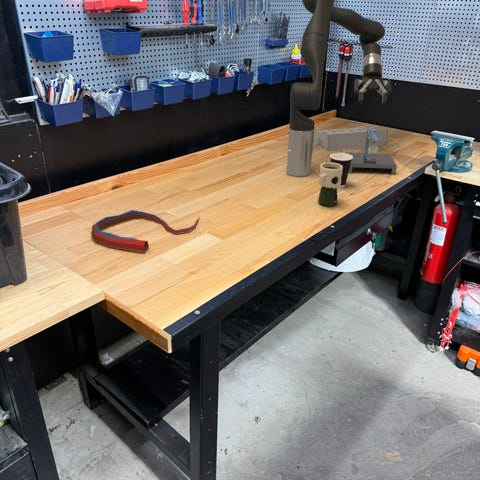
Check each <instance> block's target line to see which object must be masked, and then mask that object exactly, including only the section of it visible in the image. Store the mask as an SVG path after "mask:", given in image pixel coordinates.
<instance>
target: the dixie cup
mask: <svg viewBox="0 0 480 480" xmlns="http://www.w3.org/2000/svg"><path fill="white" fill-rule="evenodd" d="M329 157H330V163H338V164H340V165H342V166H343V170H342V176H341V185H340V186H339V187H337V189H344V187H345V186H346V185H347V182H348V175H349V174H350V173H349V169H350V165H351V160H352V159H353V156H352V155H349V154H346V153H345V152H334V153H331V154H330V155H329Z"/></svg>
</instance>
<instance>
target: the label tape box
mask: <svg viewBox="0 0 480 480" xmlns="http://www.w3.org/2000/svg"><path fill="white" fill-rule="evenodd" d="M367 127H368V128H367V134H366V143H365V147H364V152H363V153H364V155H365V158H366V160H367V161H370V162H376V161H377V153H378V149H379V146H378V144H379V140H378V138H377V137H376V135H375V134H373V133H371V129H370V127H371V126H370V124H368V125H367ZM368 130H369V131H368Z"/></svg>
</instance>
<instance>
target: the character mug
mask: <svg viewBox="0 0 480 480" xmlns="http://www.w3.org/2000/svg"><path fill="white" fill-rule="evenodd" d="M342 170H343V166H342V165H340V164H338V163H331V161H329V162H322V163H321V164H320V165H319V176H318V177H319V178H318V184H319V186H321V187H320V190H319V195H318V199H317V202H318V203H320V204H321V205H324V206H326V207H327V206H329V207H330V206H331V207H332V206H335V205H338V188H337V187H339V186H340V185H341V176H342Z"/></svg>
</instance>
